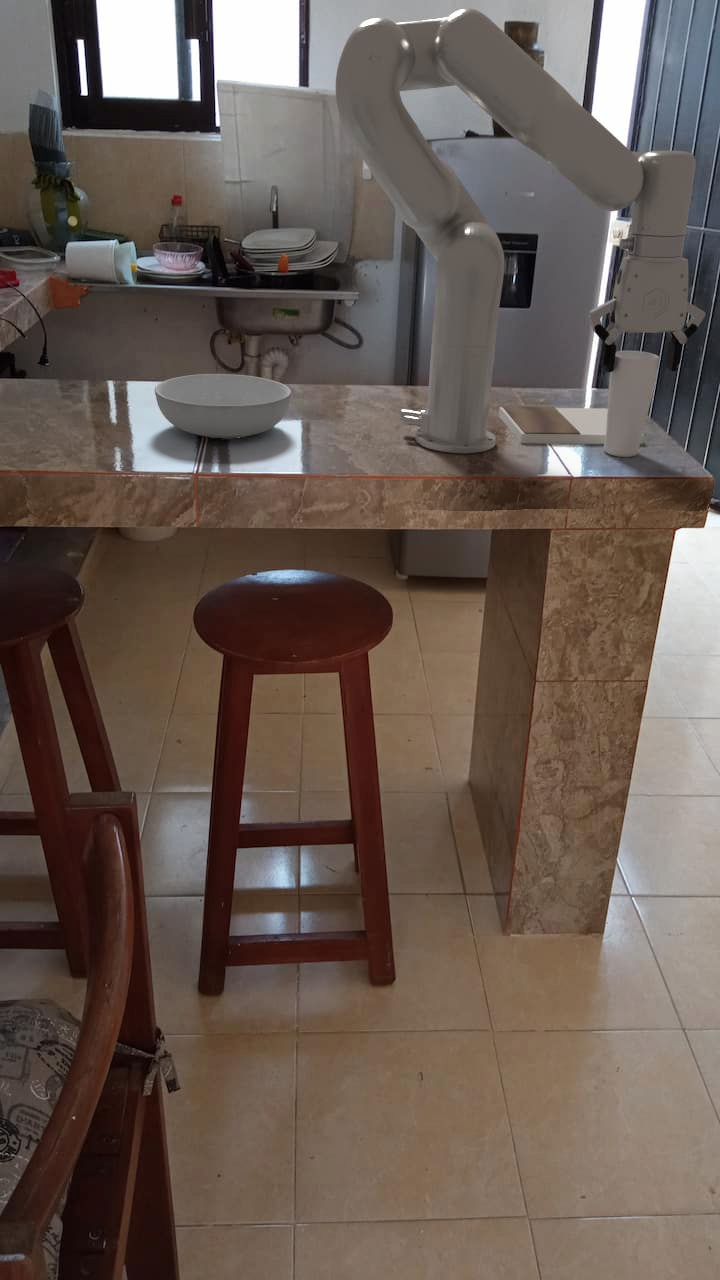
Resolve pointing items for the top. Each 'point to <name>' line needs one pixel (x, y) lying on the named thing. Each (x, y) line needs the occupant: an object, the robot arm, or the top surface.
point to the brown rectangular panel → (540, 420)
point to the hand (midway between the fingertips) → (639, 369)
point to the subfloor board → (582, 419)
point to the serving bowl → (223, 404)
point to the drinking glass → (629, 401)
